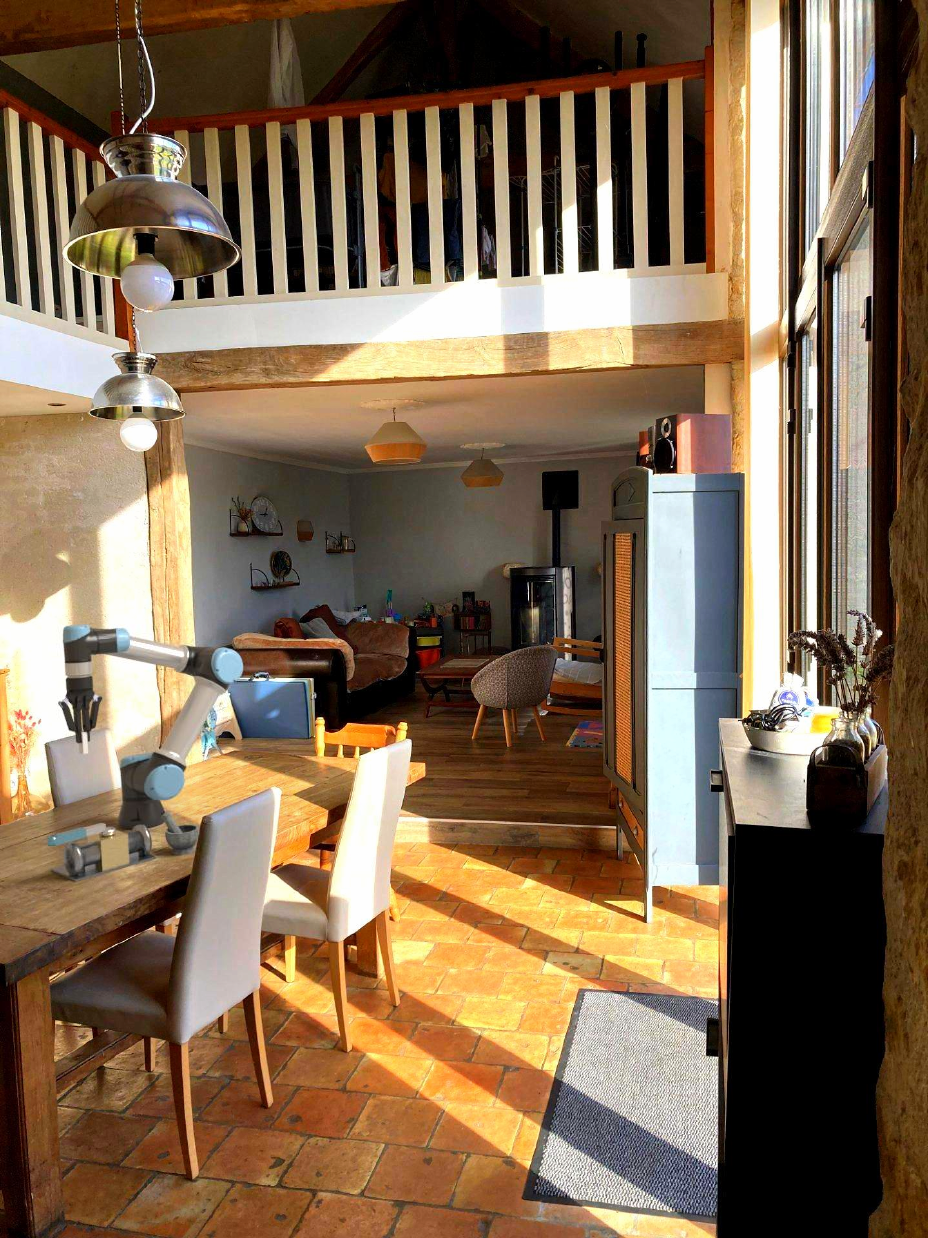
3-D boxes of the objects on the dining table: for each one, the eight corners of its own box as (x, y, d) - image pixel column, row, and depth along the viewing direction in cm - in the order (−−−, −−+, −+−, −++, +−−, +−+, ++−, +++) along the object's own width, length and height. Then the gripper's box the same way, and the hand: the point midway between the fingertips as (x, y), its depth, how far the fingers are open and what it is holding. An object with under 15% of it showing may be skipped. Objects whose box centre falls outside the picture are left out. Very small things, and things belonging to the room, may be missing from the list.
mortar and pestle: (205, 847, 279) (203, 808, 278) (191, 857, 270) (189, 817, 269) (171, 846, 281) (168, 807, 280) (156, 856, 272) (153, 816, 271)
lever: (44, 849, 251) (43, 836, 251) (110, 831, 266) (109, 819, 266) (52, 852, 248) (51, 839, 248) (118, 833, 264) (117, 821, 263)
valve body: (130, 849, 280) (128, 818, 279) (155, 858, 270) (154, 826, 269) (51, 870, 262) (48, 837, 261) (75, 881, 252) (73, 847, 251)
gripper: (93, 672, 286) (98, 748, 288) (51, 677, 277) (57, 755, 278) (105, 674, 281) (110, 750, 283) (63, 679, 272) (68, 758, 273)
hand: (83, 753), depth 280 cm, fingers closed
